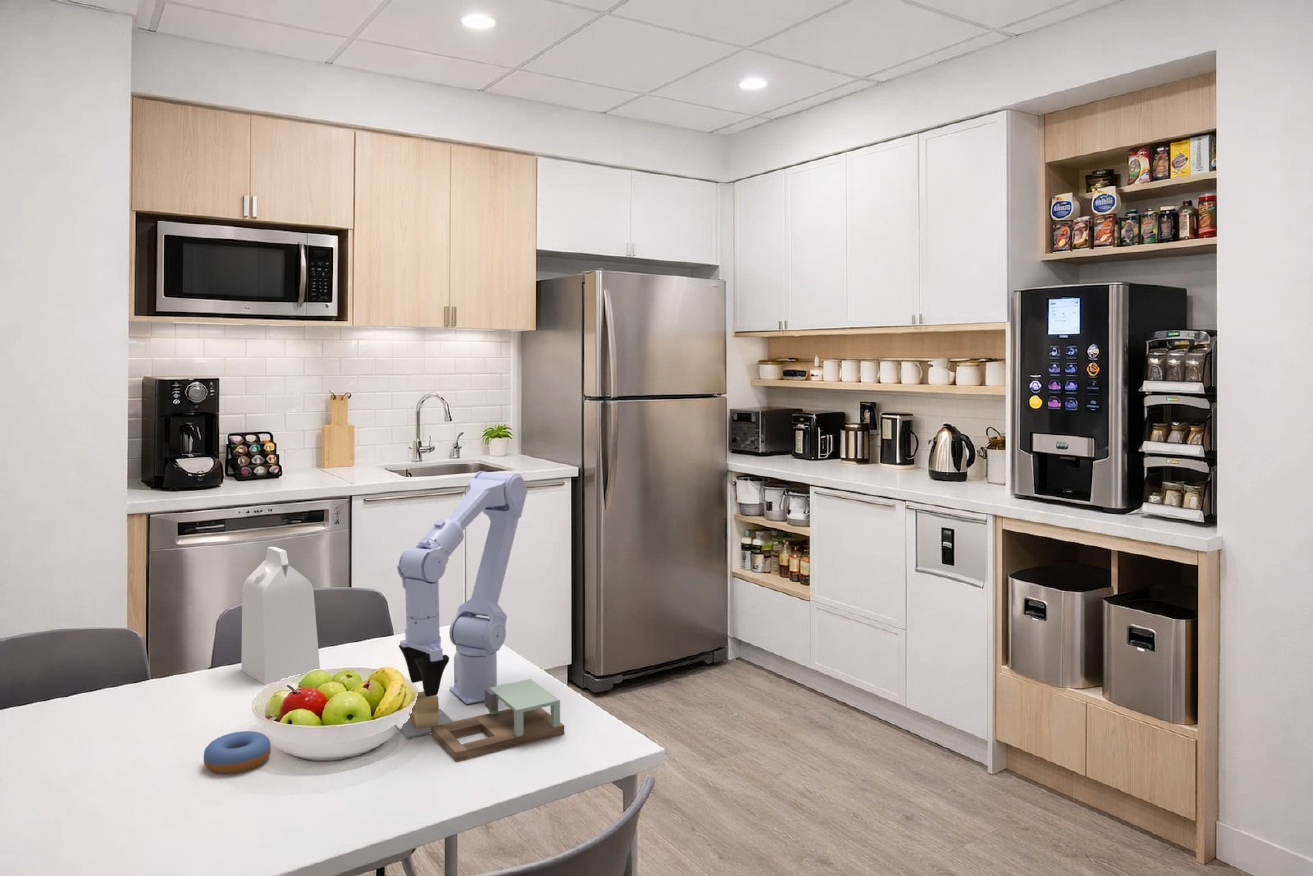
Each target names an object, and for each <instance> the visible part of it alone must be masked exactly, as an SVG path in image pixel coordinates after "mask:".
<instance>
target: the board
mask: <svg viewBox="0 0 1313 876" xmlns="http://www.w3.org/2000/svg"><path fill="white" fill-rule="evenodd" d="M478 732H479V733H483V734H484V735H485V736H486V738H481V739H477V740H473V741H470V742H465V743H461V742H460V741H459V740H458V739H459V738H461V737H465V736H466V737H467V736H469V735H475V734H478ZM560 734H561V735H565V724H563V722H561V721H560V726H558V727H553V726H551V713H549V712H547V711H546V710H545V709H544V708H538V709H534V710H530V711H526V712H523V735H522V736H518V737H517V736H516V735H514V711H513V710H512V709H511V708H507V709H502V710H498V714H494V715H491V714H490V712H489V713H484V714H481V715H477V716H473V717H472V716H471V717H467V718H463V719H459V720H454V721H453V722H450V723H445V724H441V725H437V726H432V727H431V734H430V735H431V737H432V738H433V737H434V738H435V739H434V740H435V741H436V742H437V743H438V744H439V745H440V746H441V747H442V748H443V749H444V751H445V752H446V751H447V754H448V755H449V756H450V757H451V758H452V759H453V760H454V761H455V762H459V761H463V760H466V759H471V758H476V757H478V756H483V755H486V754H491V753H493V752H499V751H502V750H506V749H510V748H514V747H517V746H521V745H525V744H526V745H527V744H529V743H534V742H537V741H541V740H545V739H549V738H552V737H556V736H561V735H560Z"/></svg>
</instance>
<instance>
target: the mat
mask: <svg viewBox="0 0 1313 876" xmlns="http://www.w3.org/2000/svg"><path fill="white" fill-rule="evenodd" d="M450 722H454V721H453V720H452V719H451V717H449V716H448V715H447V714H446V713H445V712H444V711H443V710H442V708H439V724H435V725H431V726H427V727H422V728H418V729H417V728H416V727H415V726H414V725H413V724H412V723H411V722H410V718H409V719H408V721H407V722H406V723H404V724H403V726H402V728H401V729H400V730H399V731H400V732H401V733H402V734H403V735H404V737H405V738H406V739H407V740H411V739H414V738H413V737H415V738H419V737H423V735H424V736H427V735H426V734H428V735H431V734H430V733H431V727H432V726H437V725H441V724H445V723H450ZM410 738H411V739H410Z"/></svg>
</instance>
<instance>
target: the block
mask: <svg viewBox="0 0 1313 876" xmlns="http://www.w3.org/2000/svg"><path fill="white" fill-rule="evenodd" d="M439 706H440V705H439V696H438V694H437V695H433V696H429V697H426V696H425V693H424V690H422V691H418V696H417V700H416V703H415V705H414V706H413V708H412V713H411V714H410V713H409V715H410V722H411V723H412V724H413V725H414V726H415V727H416V728H417V729H418V728H422V727H427V726H431V725H435V724H439V709H440V708H439Z"/></svg>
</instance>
